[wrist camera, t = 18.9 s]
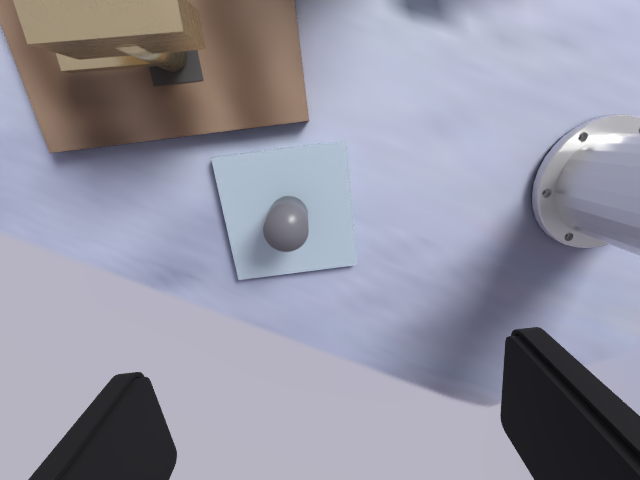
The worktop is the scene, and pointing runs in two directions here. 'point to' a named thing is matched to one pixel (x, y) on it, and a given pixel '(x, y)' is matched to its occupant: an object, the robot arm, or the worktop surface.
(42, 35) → the key
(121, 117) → the board
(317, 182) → the lid
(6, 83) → the worktop surface
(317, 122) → the worktop surface
